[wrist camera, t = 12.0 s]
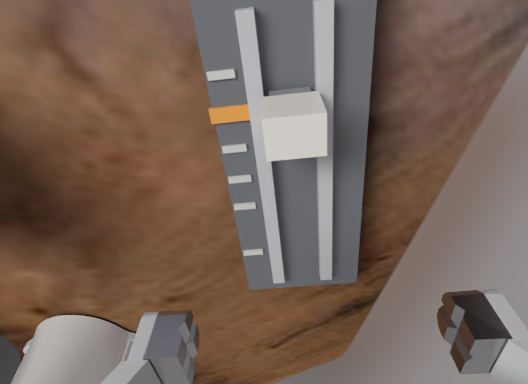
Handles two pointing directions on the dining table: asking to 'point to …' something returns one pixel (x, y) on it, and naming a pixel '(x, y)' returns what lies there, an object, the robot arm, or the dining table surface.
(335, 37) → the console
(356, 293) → the dining table surface
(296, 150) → the fader
